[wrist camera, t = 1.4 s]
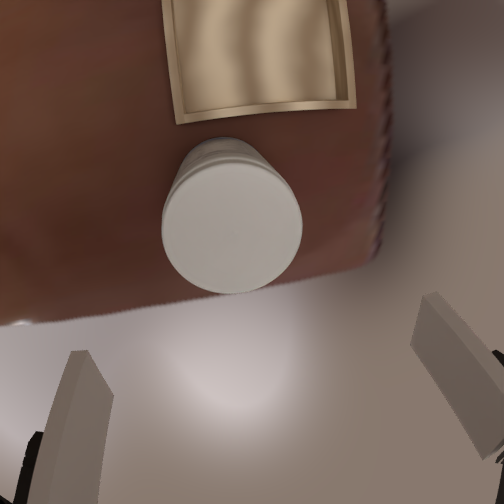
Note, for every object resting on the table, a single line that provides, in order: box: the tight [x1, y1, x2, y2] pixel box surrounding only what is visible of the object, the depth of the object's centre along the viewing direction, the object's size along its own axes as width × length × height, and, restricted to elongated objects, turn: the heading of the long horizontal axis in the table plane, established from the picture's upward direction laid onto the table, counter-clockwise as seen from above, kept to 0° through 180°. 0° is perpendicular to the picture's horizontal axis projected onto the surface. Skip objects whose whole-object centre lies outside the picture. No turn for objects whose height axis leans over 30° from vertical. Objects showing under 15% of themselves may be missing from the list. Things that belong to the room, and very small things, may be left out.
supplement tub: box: [162, 137, 302, 294], centre depth 27 cm, size 10×10×15 cm
